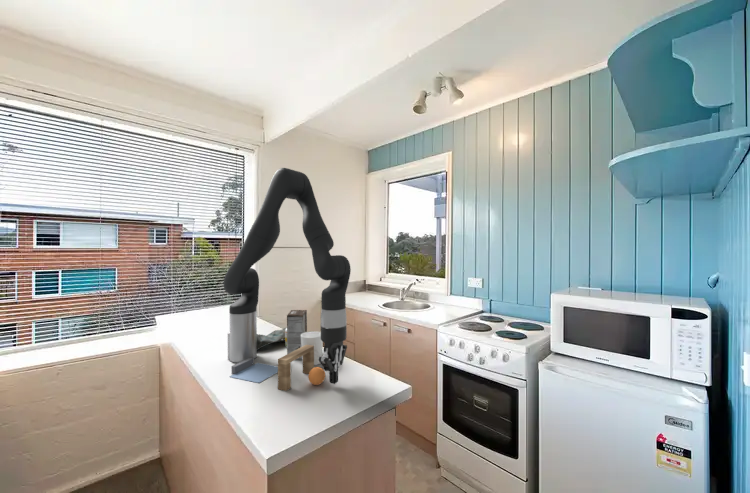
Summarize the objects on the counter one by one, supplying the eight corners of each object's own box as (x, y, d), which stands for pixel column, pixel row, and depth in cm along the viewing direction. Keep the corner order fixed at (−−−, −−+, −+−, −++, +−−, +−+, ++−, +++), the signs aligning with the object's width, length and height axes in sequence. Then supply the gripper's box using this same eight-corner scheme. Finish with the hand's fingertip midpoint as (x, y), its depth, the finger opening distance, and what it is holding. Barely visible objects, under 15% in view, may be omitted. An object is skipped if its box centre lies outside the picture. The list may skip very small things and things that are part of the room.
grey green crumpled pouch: (254, 354, 116) (311, 339, 133) (253, 336, 116) (310, 323, 133) (242, 349, 125) (297, 335, 142) (241, 331, 126) (296, 320, 143)
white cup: (318, 367, 103) (318, 338, 103) (296, 365, 105) (296, 336, 105) (326, 359, 111) (326, 331, 111) (306, 357, 112) (306, 330, 112)
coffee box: (291, 350, 120) (290, 309, 120) (307, 349, 121) (307, 309, 121) (286, 358, 111) (286, 314, 111) (304, 358, 112) (303, 314, 112)
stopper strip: (231, 373, 98) (231, 366, 98) (250, 364, 106) (250, 357, 106) (235, 374, 98) (235, 366, 98) (253, 365, 105) (253, 358, 105)
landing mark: (229, 376, 96) (229, 376, 96) (257, 363, 107) (257, 362, 107) (258, 383, 91) (258, 382, 91) (284, 368, 102) (284, 367, 102)
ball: (319, 371, 87) (320, 388, 87) (327, 365, 92) (328, 381, 92) (304, 370, 89) (305, 387, 89) (313, 363, 94) (314, 379, 94)
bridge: (278, 389, 87) (277, 359, 87) (306, 370, 100) (306, 344, 100) (286, 391, 86) (286, 360, 86) (314, 372, 99) (313, 345, 99)
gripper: (333, 317, 96) (333, 371, 96) (309, 328, 84) (309, 390, 84) (355, 319, 93) (355, 375, 93) (333, 330, 81) (333, 395, 81)
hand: (333, 382), depth 89 cm, fingers closed
